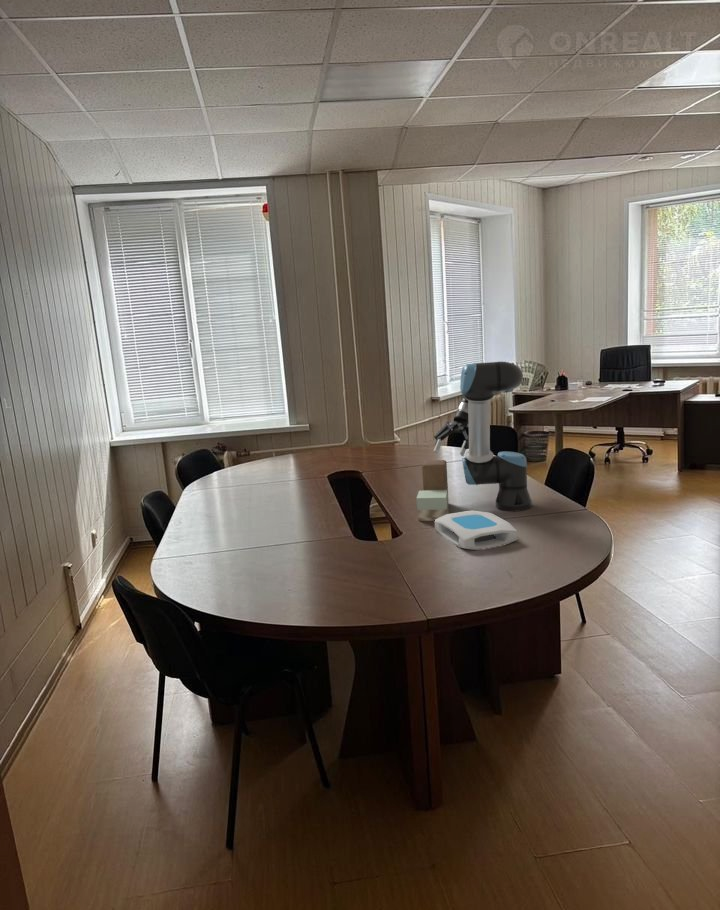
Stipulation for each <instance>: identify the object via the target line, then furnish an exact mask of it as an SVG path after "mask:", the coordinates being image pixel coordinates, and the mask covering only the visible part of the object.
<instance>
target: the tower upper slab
mask: <svg viewBox="0 0 720 910" xmlns="http://www.w3.org/2000/svg"><path fill="white" fill-rule="evenodd" d="M415 500H416V510H417V511H418V510H442V509H447V504H448V505H449V491H448V492H447V490H425V491H423V490H418V492H417V495H416V499H415Z"/></svg>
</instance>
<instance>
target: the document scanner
mask: <svg viewBox="0 0 720 910" xmlns="http://www.w3.org/2000/svg"><path fill="white" fill-rule="evenodd" d="M434 528H435V530H436V531H437V532H438V534H439V535H440V536H441V535H442V536H443V537H442V538H444V539H445V538H446V539H445V540H447V541H448V540H449V541H450V542H449V541H448V542H449V543H450V544H452V543H453V544H452V545H454V546H455V545H456V546H455V547H457V546H458V547H457V548H462V549H467V550H473V551H479V550H478V549H482V550H484V549H483V548H488V547H494V546H499V545H504V544H507V545H509V544H511V543H513V542H515V541H517V540H518V530H517V529H516V528H515V527H514V526H513V525H512V524H511V523H510V521H507V520H505V519H503V518H501V517H499V516H497V515H495V513H494V514H493V513H491V512H486V511H480V510H467V511H459V512H453V513H448V514H446V515H444V516H442V517H440V518H437V519H435V521H434ZM453 532H454V533H453ZM491 534H492V535H494V536H495V537H496V538H495V537H494V536H493V537H494V538H491V539H487V540H483V541H475V539H477V538H480V537H486V536H489V535H491ZM492 535H491V536H492ZM499 547H500V546H499ZM494 548H495V547H494ZM488 549H489V548H488Z"/></svg>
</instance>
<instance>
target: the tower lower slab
mask: <svg viewBox="0 0 720 910" xmlns="http://www.w3.org/2000/svg"><path fill="white" fill-rule="evenodd" d="M446 514H450V513H449V503H448V504H447V509H442V510H417V517H418V518H417V519H418V522H428V521H429V522H431V521H433V522H435V521H434V520H435V519H437V518H440V517H442V516H444V515H446Z"/></svg>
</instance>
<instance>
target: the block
mask: <svg viewBox="0 0 720 910" xmlns="http://www.w3.org/2000/svg"><path fill="white" fill-rule="evenodd" d="M447 468H448V466H447V460H445V459H437V460H436V459H435V460H434V459H433V460H425V461H423V464H421V479H422V491H425V490H447V492H448V493H449V488H448V487H449V486H448V469H447Z"/></svg>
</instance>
